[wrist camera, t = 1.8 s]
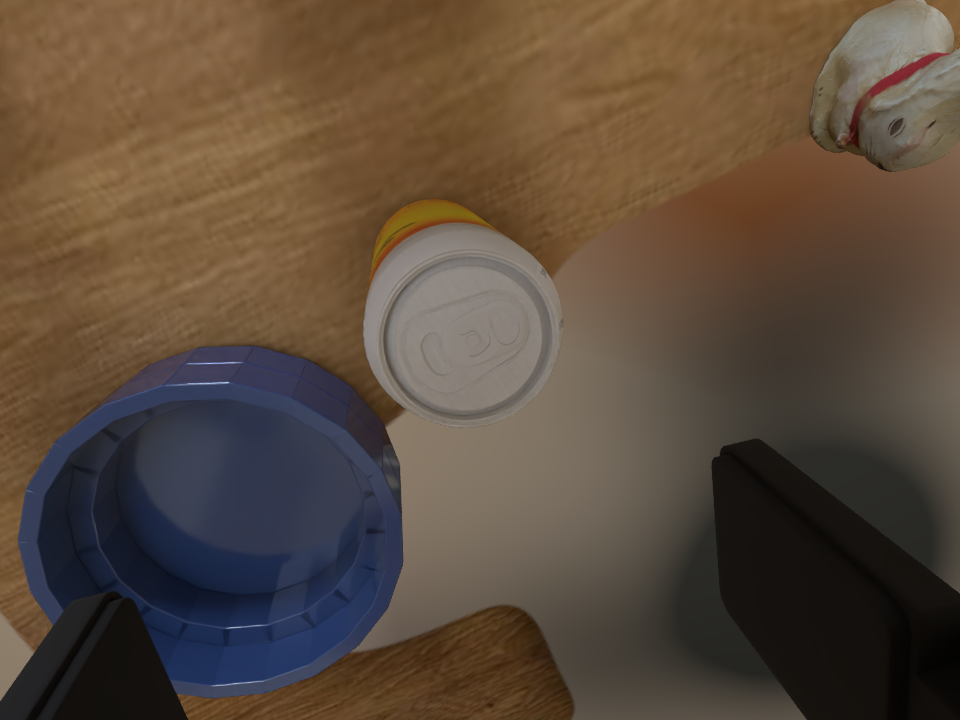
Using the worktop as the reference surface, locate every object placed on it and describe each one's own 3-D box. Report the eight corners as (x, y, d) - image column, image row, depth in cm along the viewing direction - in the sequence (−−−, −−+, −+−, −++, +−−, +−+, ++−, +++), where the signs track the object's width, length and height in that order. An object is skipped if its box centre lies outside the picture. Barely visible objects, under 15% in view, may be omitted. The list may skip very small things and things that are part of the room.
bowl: (111, 303, 31) (48, 336, 25) (437, 389, 34) (447, 436, 29) (59, 585, 35) (-4, 669, 29) (356, 635, 39) (350, 718, 33)
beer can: (351, 229, 31) (322, 293, 17) (464, 177, 31) (527, 198, 17) (405, 336, 33) (419, 472, 19) (510, 287, 33) (602, 387, 19)
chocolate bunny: (769, 89, 32) (929, 63, 22) (899, -17, 31) (1121, -90, 22) (818, 178, 34) (985, 188, 24) (942, 79, 33) (1164, 50, 24)
